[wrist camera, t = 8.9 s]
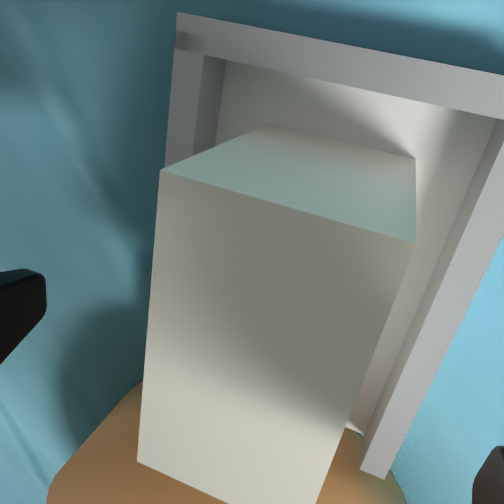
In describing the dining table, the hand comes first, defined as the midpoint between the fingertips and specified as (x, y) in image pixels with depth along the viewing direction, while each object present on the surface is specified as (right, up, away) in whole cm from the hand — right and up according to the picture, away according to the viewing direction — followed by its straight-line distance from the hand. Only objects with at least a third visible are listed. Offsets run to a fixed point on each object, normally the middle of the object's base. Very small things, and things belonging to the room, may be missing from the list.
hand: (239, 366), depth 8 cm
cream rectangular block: (+2, +2, +5) cm, 6 cm away
